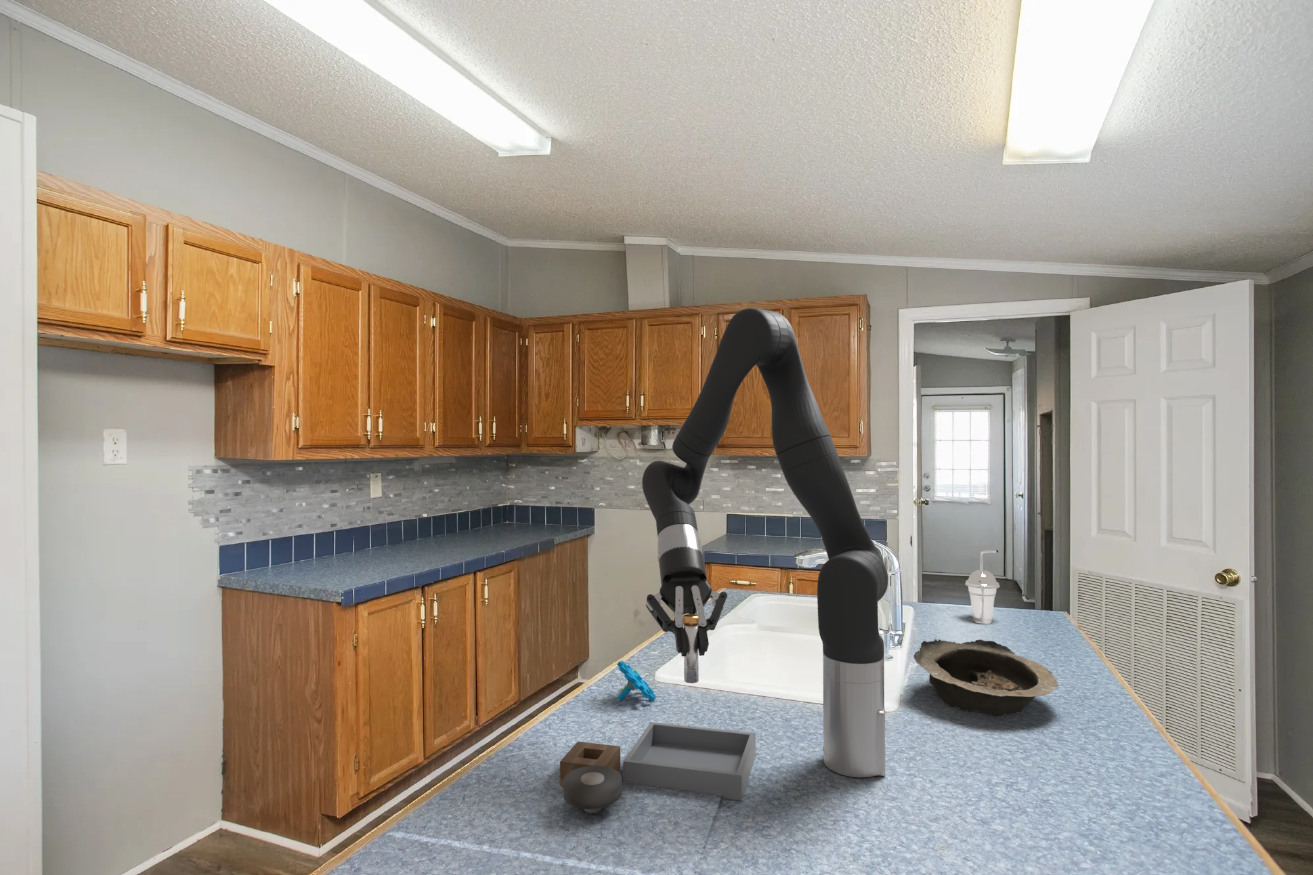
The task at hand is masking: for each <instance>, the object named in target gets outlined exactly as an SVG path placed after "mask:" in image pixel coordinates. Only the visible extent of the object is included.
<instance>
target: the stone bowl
mask: <svg viewBox="0 0 1313 875" xmlns="http://www.w3.org/2000/svg"><path fill="white" fill-rule="evenodd" d="M913 659H914V660H915V662H916V663H917V664H918V665H919V666H920V667H921V668H922V669H924V670H925V671H926V672H927V673H929V677H928V679H929V680H928V681H929V684H931V685H932V686H933V688H934V690H935V692H936V694H937V696H938V698H939V699H940V701H941V702H943V703H944V704H945V705H947V706H948V707H954V708H957V709H958V710H960V711H965V712H971V711H972V712H974V711H976V712H978V713H982V714H986V715H989V716H993V717H1002V716H1005V715H1013V714H1019V713H1021V712H1022V711H1023V710H1024V709H1025V708H1026V706H1028V705H1029V704H1030V703H1031V702H1032V701H1033V700H1034V699H1035V698H1036V697H1042V696H1046V695H1049V694H1051V693H1052V692H1054V691H1055V690H1056V689H1057V688H1058V687H1059V685H1060V684H1059V683H1058V682H1059V681H1057V679H1056V678H1055V677H1054V676H1053V672H1052V671H1051V670H1049V668H1046V667H1045V666H1043V665H1042V664H1040V663H1038V662H1036V661H1033V660H1031V659H1028V658H1026V657H1024V656H1020V655H1016V654H1015V652H1013V651H1012V650H1011V649H1010V648H1009V647H1008V646H1006V645H1002V644H1000V643H997V642H996V641H993V640H983V639H975V640H974V641H973V640H972V641H965V642H961V643H958V642H955V641H947V640H943V639H942V640H941V639H940V638H939V639H938V640H937V638H935V639H934V640H932V641H929V640H928V641H926V640H923V641H922V642H921V645H920V647H919V650H917V651H916V652H914V654H913Z"/></svg>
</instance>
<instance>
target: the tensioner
mask: <svg viewBox="0 0 1313 875" xmlns="http://www.w3.org/2000/svg"><path fill="white" fill-rule="evenodd" d="M620 771H621V745H613V744H612V745H611V744H605V743H604V744H603V743H595V742H587V741H586V742H585V741H576V742H575V744H574V745H573V746H572V747H571V748H570V749H569V751H568V752H567V753H566V754H565V755H564V756H563V757H562V758H561V760H560V761H559V785H560V787H561V786H562V787H563V788H562V789H563V790H562V791H563V799H564V801H565V802H566V803H567V804H568V805H570V806H571V807H574V808H577V809H583V810H584V812H586V813H588V814H596V813H599V812H601V810H602V809H603V808H605V807H609V806H612V805H613V804H615V803H616V802H618V801H619V800H620V799H621V798H622V793H623V792H622V791H623V790H622V789H623V787H622V785H623V784H622V780H623V778H622V774H621V773H620Z"/></svg>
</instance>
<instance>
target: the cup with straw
mask: <svg viewBox="0 0 1313 875" xmlns="http://www.w3.org/2000/svg"><path fill="white" fill-rule="evenodd" d="M994 553H995V554H998V553H999V550H998V549H994V550H993V549H992V550H991V549H989V550H986V549H985V550H981V551H980V554H979V559H980V560H979V565H980V566H979V568H980V569H977V570H975V571H973V572H971V573H970V575H969V576H968V579H966V580H965V586H967V587H968V588H967V589H968V594H969V598H970V605H971V615H972V618H973V619H972V621H973V622H974V623H975V624H976V623H977V624H984V625H986V624H987V625H988V624H992V619H993V614H994V605H995V597H996V595H997V589H999V588H1000V587H1001V586H1000V583H999V582H998V581H997V579H996V576H994V574H993V573H992V572H990V571H988V570H985V569H984V554H994Z"/></svg>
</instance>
